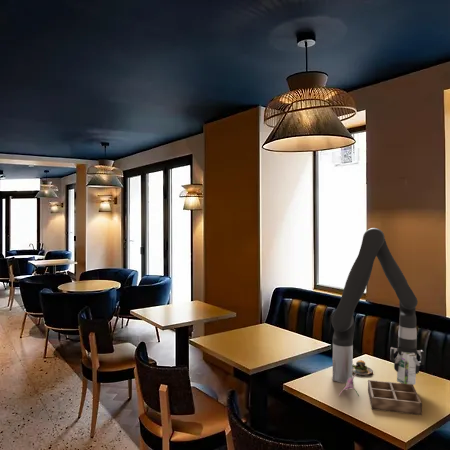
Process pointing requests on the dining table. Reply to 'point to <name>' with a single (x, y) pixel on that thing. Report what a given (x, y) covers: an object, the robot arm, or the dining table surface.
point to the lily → (349, 384)
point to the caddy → (394, 397)
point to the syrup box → (407, 369)
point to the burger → (361, 368)
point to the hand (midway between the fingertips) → (406, 372)
